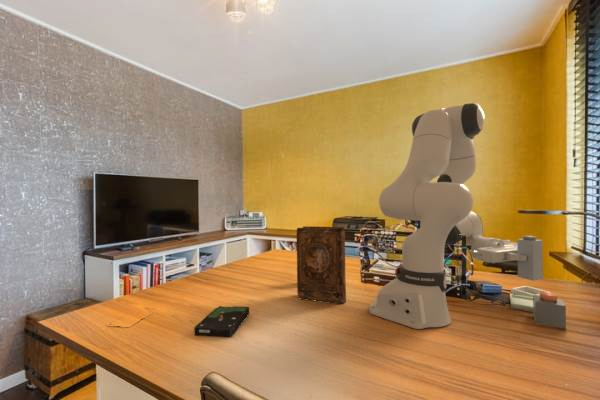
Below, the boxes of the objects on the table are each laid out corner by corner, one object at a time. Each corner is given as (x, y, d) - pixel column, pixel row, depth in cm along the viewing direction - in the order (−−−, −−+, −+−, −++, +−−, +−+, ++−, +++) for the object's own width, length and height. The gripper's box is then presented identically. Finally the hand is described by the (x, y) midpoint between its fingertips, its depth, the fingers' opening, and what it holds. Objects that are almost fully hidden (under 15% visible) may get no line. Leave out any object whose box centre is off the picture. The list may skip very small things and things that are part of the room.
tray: (511, 308, 85) (511, 303, 85) (510, 298, 93) (509, 293, 93) (554, 315, 79) (554, 310, 79) (549, 304, 87) (549, 299, 87)
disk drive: (232, 340, 70) (249, 315, 85) (231, 329, 70) (249, 306, 85) (193, 338, 72) (217, 313, 86) (193, 327, 72) (217, 304, 86)
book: (347, 299, 95) (346, 227, 95) (343, 305, 90) (342, 228, 90) (303, 293, 101) (301, 226, 101) (297, 299, 96) (296, 227, 96)
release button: (540, 315, 75) (540, 295, 75) (539, 311, 78) (538, 291, 78) (558, 319, 73) (558, 297, 73) (556, 314, 76) (556, 293, 76)
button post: (535, 323, 75) (535, 301, 75) (533, 315, 80) (533, 294, 80) (566, 329, 71) (565, 305, 71) (561, 320, 76) (561, 298, 76)
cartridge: (517, 276, 88) (517, 236, 88) (527, 275, 89) (526, 235, 89) (533, 280, 84) (532, 238, 83) (542, 278, 85) (542, 236, 85)
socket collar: (510, 293, 98) (510, 288, 98) (526, 290, 100) (525, 285, 100) (536, 301, 90) (536, 295, 90) (552, 297, 93) (552, 292, 93)
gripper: (467, 243, 95) (509, 250, 82) (508, 239, 102) (553, 245, 89) (468, 261, 95) (510, 271, 82) (509, 256, 102) (553, 264, 89)
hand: (533, 257), depth 85 cm, fingers closed on cartridge, 4 cm apart
